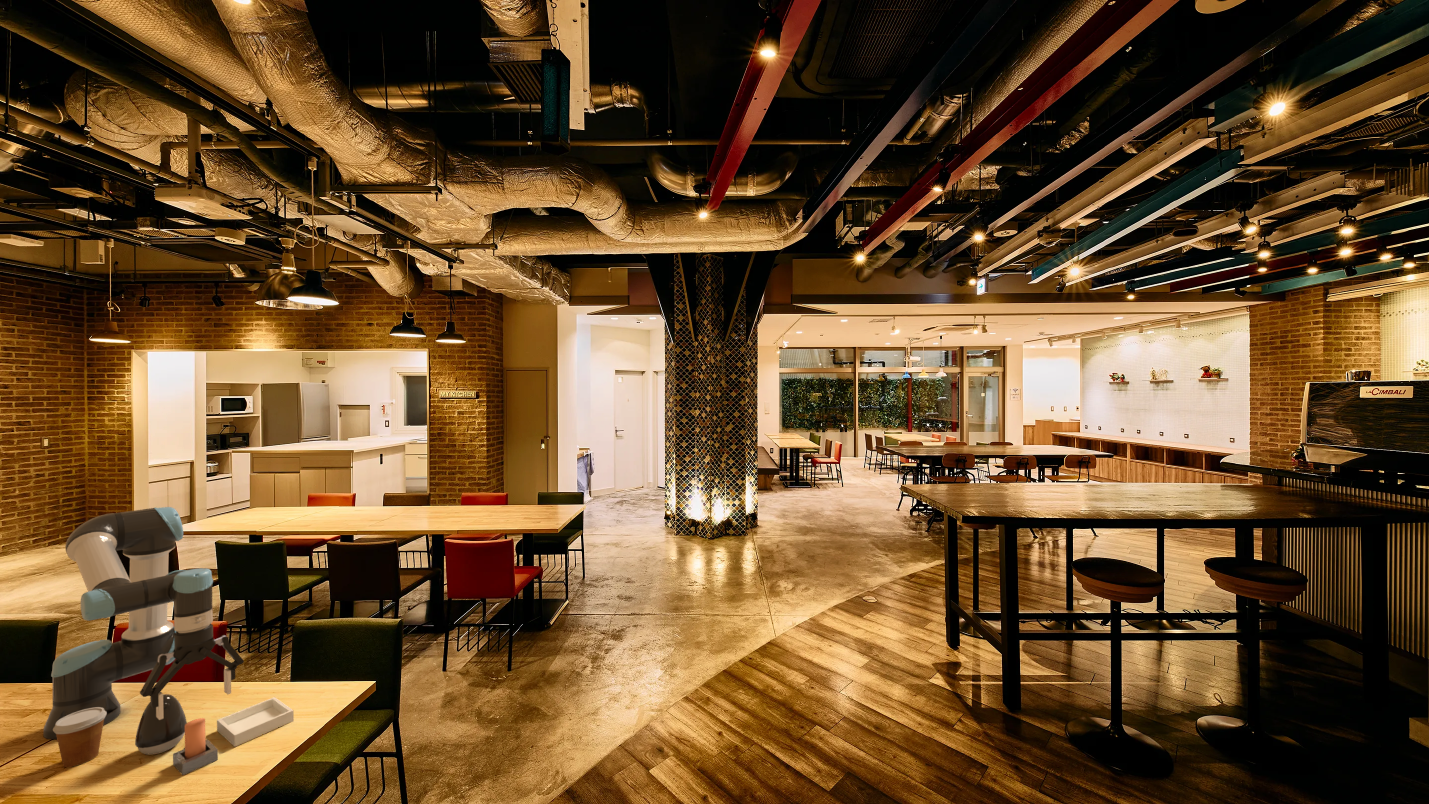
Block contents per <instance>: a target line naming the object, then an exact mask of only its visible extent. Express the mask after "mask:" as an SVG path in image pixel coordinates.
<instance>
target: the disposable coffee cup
mask: <svg viewBox="0 0 1429 804" xmlns="http://www.w3.org/2000/svg"><path fill="white" fill-rule="evenodd" d="M106 715H107V712H106V711H105V710H104V708H101V707H95V708H89V709H84V710H81V711H77V712H74V713H72V714H69V715H67V716H65V717H63V718H61V719H60V720H58V721H57V722H56V724H55V727H54V728H53V731H54V732H55V733H56V736H57V739H56V740H57V745H58V749H59V754H60V758H61V762H62V766H63V767H65V768H72V767H76V766H79V765H83V764H85V763H88V762H89V761H91V760H93V759H95V758H96V757H97V756H98V755H99V751H100V744H101V740H102V735H103V734H102V733H103V728H104V725H103V723H104V718H105V716H106Z"/></svg>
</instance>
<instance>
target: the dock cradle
mask: <svg viewBox="0 0 1429 804" xmlns="http://www.w3.org/2000/svg"><path fill="white" fill-rule="evenodd" d="M294 718H295V717H294V709H292V708H291V707H290V706H288V705H287V704H285V703H284V702H283V701H281V700H280V699H278V698H277V697H275V696H273V697H270V698H268V699H265V700H263V701H261V702H258V703H256V704H253V705H250V706H247V707H246V708H244V709H243V708H242V709H241V710H239V711H236V712H233V713H231V714H229V715H226V716H223V717H221V718H218V719H217V720H216V731H217V732H218V733H219V734H220V735H221V736H222V737H223V738H225V739H226V740H227V742H229V743H230V744H231V745H232V747H235V748H236V747H237V746H240V745H242V744H244V743H246V742H249V741H252V740H253V739H257V738H258V737H260V736H262V734H263V735H264V734H267V733H270V732H271V731H274V730H276V729H278V727H279V728H280V727H283V726H285V725H288V724H290V723H292V722H294Z"/></svg>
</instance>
